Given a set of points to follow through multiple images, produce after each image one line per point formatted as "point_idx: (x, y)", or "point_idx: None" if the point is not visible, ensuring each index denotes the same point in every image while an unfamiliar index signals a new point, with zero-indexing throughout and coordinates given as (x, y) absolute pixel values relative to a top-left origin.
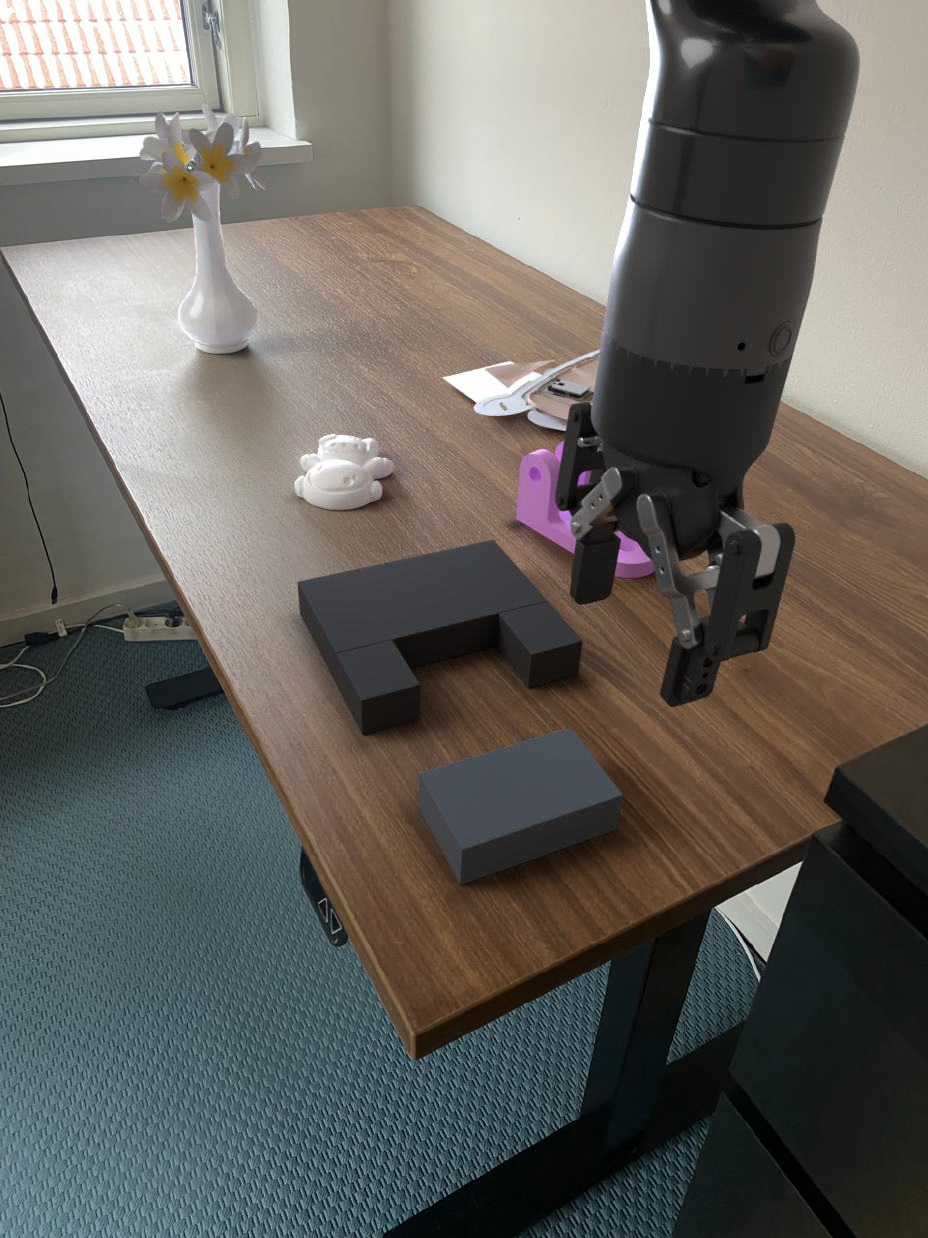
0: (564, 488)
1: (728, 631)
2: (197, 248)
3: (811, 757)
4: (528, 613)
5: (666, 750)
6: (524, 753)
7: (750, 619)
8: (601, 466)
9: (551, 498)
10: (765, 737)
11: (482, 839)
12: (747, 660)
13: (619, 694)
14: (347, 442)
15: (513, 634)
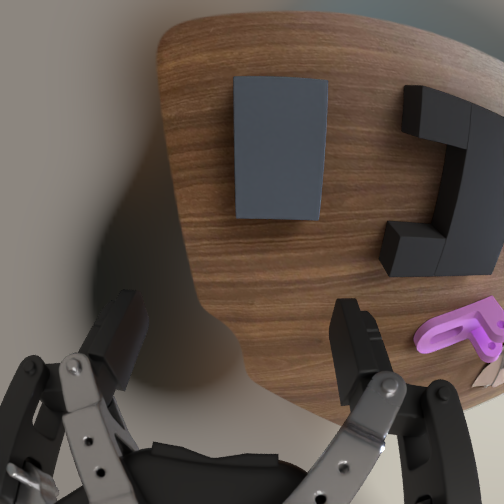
0: (444, 417)
1: (7, 391)
2: None
3: (244, 332)
4: (433, 258)
5: (288, 270)
6: (309, 170)
7: (55, 416)
8: (412, 475)
9: (485, 322)
10: (269, 322)
11: (236, 95)
12: (325, 346)
13: (347, 272)
14: None
15: (425, 236)
